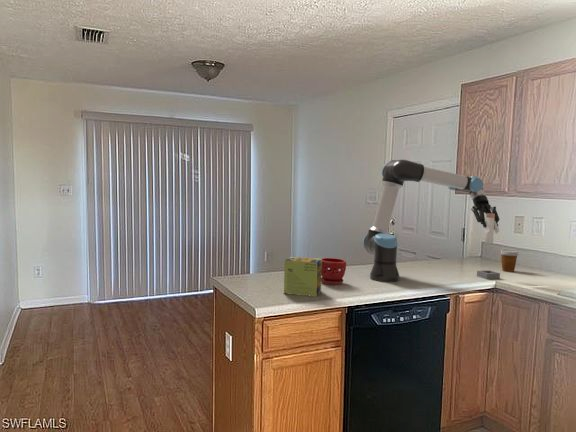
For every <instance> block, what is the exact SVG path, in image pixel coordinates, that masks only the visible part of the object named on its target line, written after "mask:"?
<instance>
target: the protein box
mask: <svg viewBox="0 0 576 432" xmlns="http://www.w3.org/2000/svg"><path fill="white" fill-rule="evenodd" d="M283 270H284V274H283V275H284V276H283V277H284V278H283V280H284V281H283V294H284V293H290V294H289V295H292V294H300V295H299V296H303V295H310V296H309V297H313V296H318V295H320V293H321V292H322V282H321V278H322V276H321V270H322V258H313V257H301V256H300V257H299V256H297V257H296V256H290V257H289V258H287V259H284V269H283Z"/></svg>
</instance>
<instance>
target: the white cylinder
mask: <svg viewBox="0 0 576 432" xmlns="http://www.w3.org/2000/svg"><path fill="white" fill-rule="evenodd" d="M485 215H486V217H485V221H487V222H488V225H489V227H490V232H489V233H487V231H486V230H485V232H484V233H485V234H484V244H486V245H487V244H489V245H493V244H494V234H495V233H494V232H495V230H494V218H495V214H492V213H487V214H486V213H485Z"/></svg>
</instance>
